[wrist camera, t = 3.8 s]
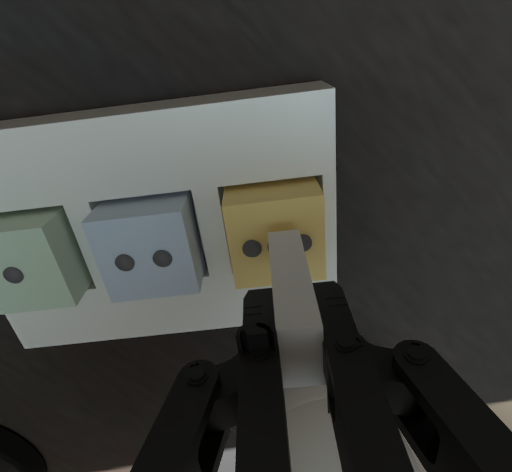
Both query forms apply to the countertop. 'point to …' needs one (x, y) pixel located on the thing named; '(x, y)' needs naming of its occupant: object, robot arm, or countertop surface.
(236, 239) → the tile three
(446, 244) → the countertop surface
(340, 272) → the countertop surface
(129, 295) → the tile two
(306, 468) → the jar
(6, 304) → the tile one
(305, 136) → the button board
